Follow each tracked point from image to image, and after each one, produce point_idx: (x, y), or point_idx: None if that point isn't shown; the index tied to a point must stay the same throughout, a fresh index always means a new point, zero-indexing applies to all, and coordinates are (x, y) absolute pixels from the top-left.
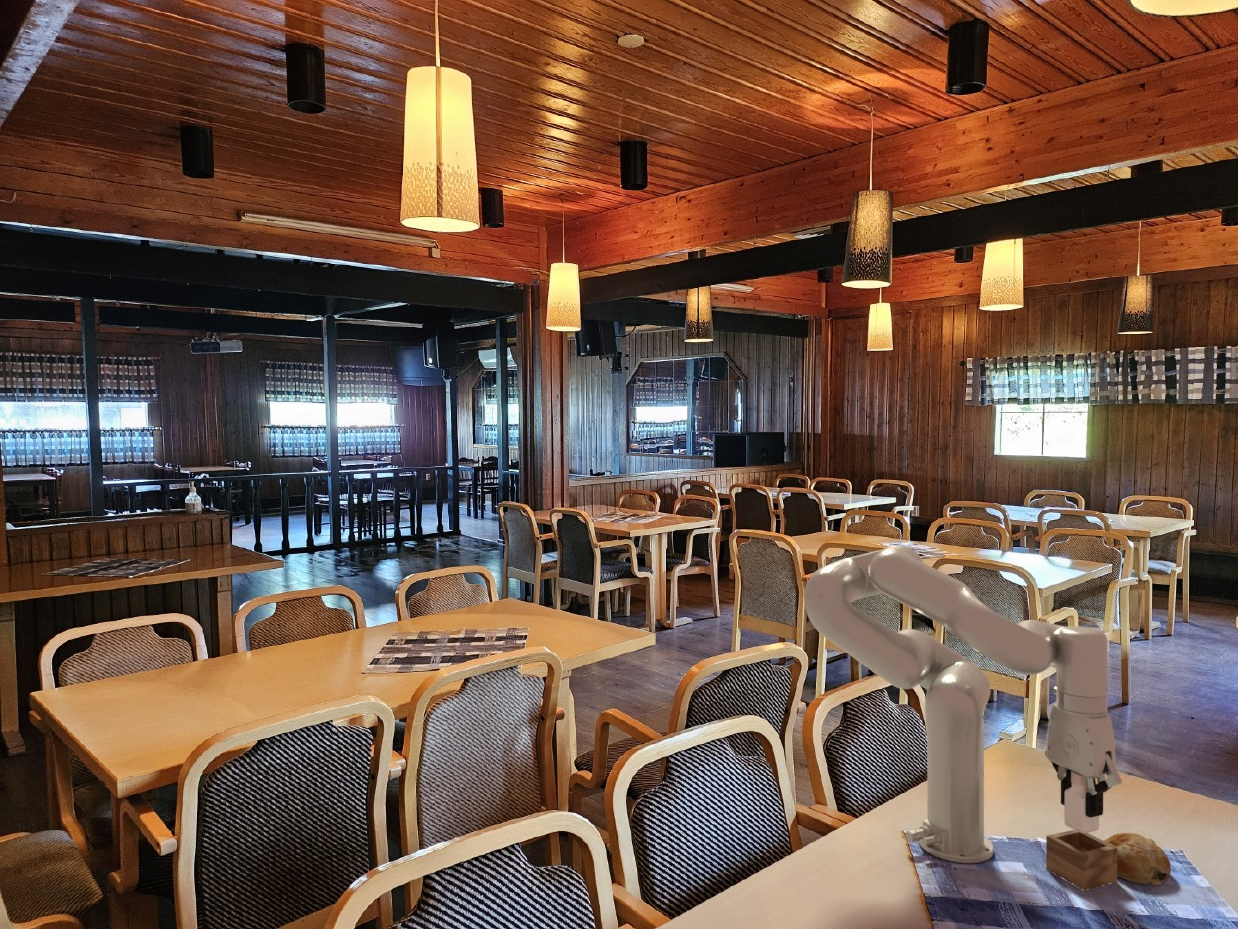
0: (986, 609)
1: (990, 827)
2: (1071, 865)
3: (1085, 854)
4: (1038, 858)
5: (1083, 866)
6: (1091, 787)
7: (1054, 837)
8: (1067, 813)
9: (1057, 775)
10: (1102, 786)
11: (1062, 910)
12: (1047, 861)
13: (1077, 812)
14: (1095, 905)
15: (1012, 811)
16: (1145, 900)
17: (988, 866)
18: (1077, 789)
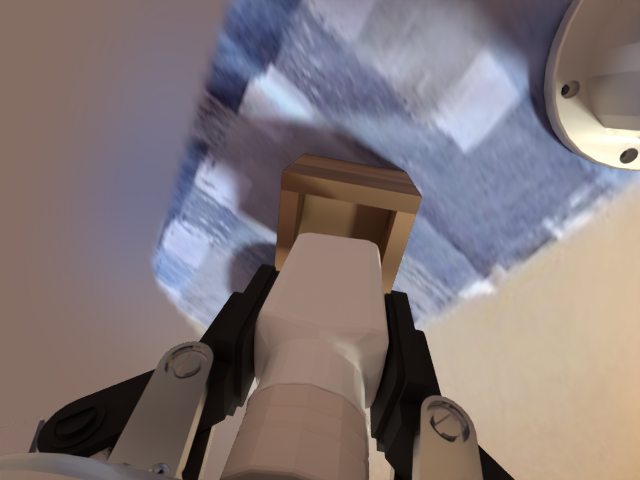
0: None
1: (612, 252)
2: (331, 168)
3: (285, 183)
4: (445, 205)
5: (291, 164)
6: (173, 383)
7: (399, 207)
8: (362, 261)
9: (471, 430)
10: (73, 410)
11: (270, 10)
12: (405, 176)
13: (311, 265)
14: (254, 117)
15: (591, 352)
16: (230, 224)
17: (528, 36)
18: (301, 357)
